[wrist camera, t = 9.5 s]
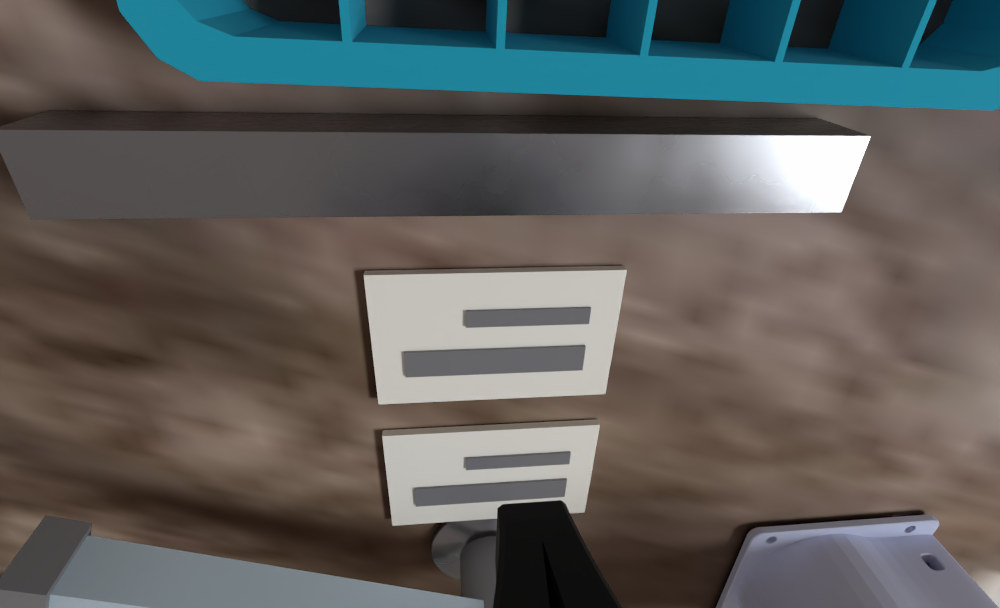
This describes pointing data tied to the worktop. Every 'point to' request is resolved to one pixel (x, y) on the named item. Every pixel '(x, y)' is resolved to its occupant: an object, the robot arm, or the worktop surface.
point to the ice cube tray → (601, 53)
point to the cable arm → (204, 578)
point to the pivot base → (457, 542)
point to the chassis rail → (422, 165)
